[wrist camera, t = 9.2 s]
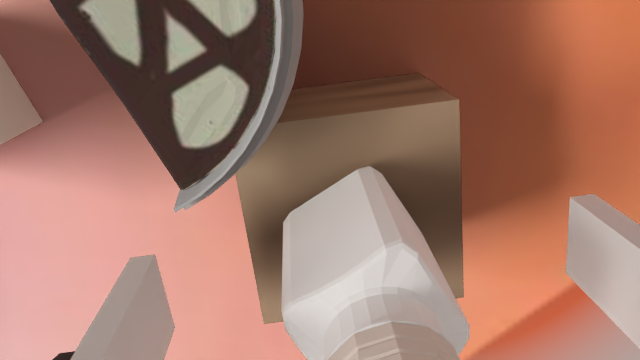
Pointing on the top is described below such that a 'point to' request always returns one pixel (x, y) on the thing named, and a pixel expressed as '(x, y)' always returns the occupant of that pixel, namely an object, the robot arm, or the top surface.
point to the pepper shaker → (365, 279)
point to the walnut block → (357, 167)
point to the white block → (14, 106)
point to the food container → (195, 76)
